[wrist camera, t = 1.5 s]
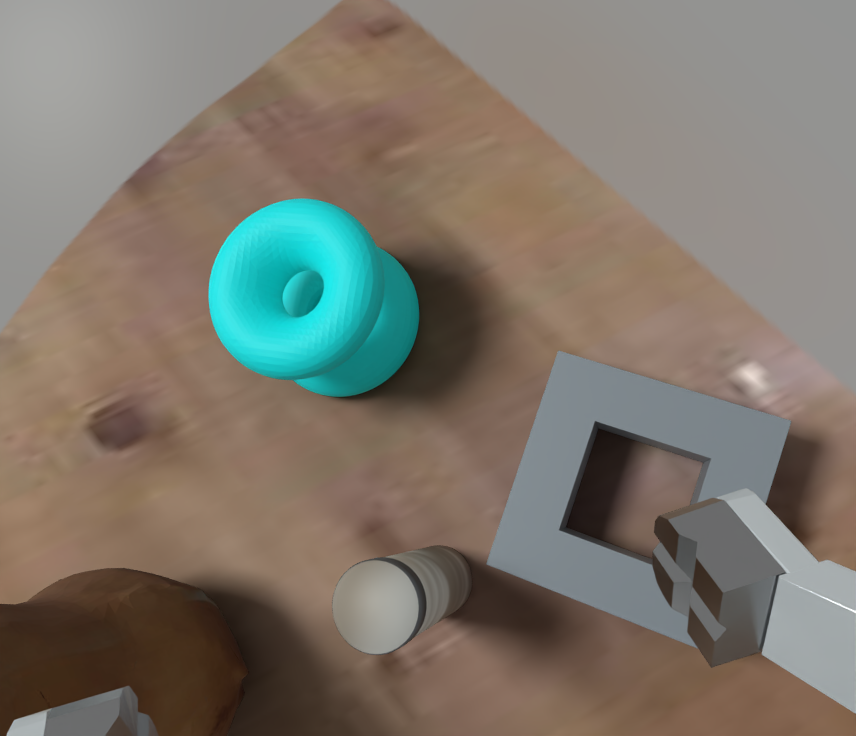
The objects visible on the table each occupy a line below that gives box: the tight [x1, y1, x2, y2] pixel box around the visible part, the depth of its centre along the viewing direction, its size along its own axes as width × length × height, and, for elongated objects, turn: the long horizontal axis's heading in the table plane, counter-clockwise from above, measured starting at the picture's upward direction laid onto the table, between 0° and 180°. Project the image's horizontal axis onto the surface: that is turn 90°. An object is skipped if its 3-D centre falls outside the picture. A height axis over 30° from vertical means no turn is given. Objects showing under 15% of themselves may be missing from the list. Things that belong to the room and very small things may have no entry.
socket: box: [486, 351, 791, 648], centre depth 41 cm, size 12×12×4 cm
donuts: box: [209, 199, 419, 397], centre depth 45 cm, size 10×10×10 cm
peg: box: [332, 545, 472, 655], centre depth 40 cm, size 4×4×12 cm
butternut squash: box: [0, 568, 249, 736], centre depth 37 cm, size 14×13×25 cm
